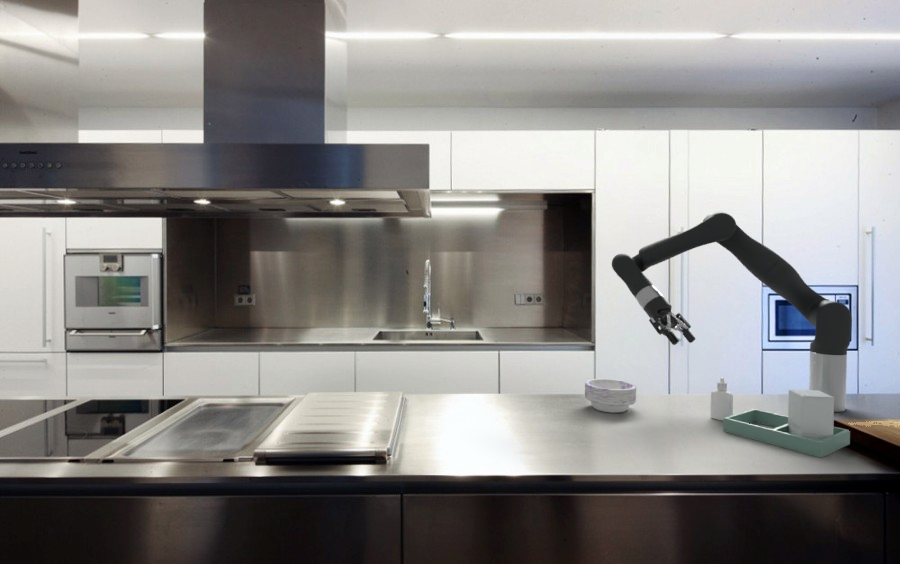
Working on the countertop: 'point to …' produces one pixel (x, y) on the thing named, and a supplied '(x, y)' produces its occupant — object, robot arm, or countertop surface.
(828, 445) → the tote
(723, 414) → the eye dropper bottle
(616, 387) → the paper bowls
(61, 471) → the countertop surface
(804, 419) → the supplement box
